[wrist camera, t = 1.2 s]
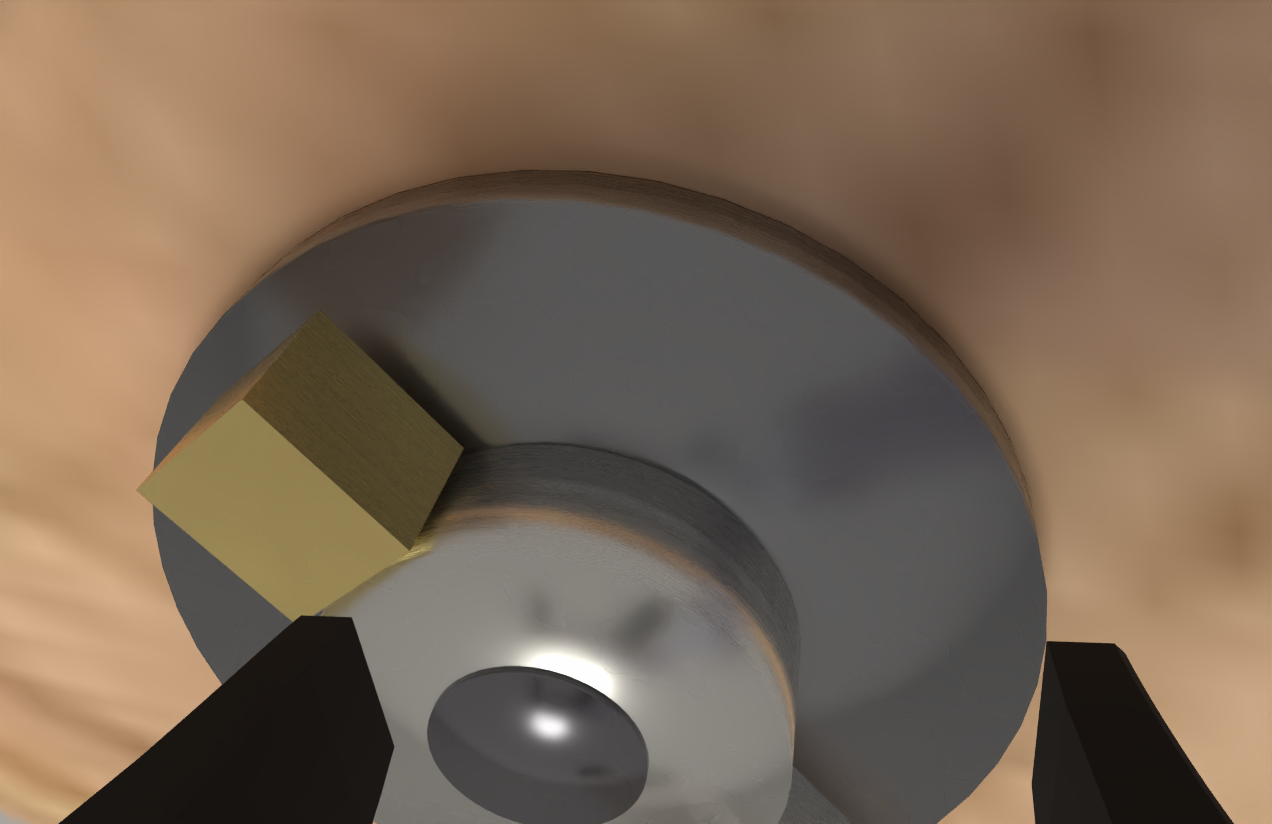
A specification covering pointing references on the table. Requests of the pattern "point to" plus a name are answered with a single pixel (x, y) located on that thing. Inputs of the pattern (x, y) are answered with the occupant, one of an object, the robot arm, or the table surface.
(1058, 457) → the table surface
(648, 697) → the ring nut
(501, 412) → the flange plate
